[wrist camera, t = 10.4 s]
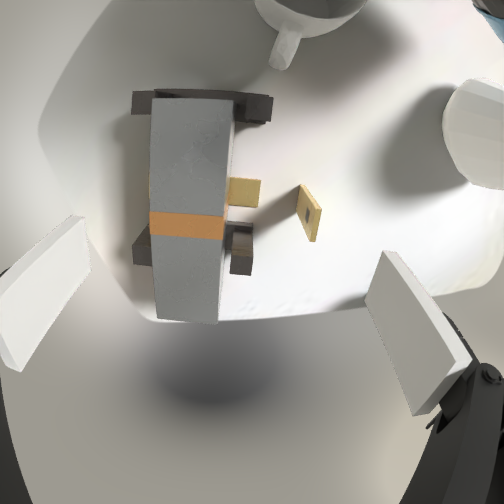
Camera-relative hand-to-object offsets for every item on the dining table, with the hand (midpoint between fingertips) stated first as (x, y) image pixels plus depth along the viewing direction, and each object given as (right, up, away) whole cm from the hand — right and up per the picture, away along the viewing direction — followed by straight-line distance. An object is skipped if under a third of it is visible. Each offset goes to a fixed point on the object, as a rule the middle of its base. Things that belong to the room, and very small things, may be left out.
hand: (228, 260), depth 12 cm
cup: (+28, +16, +15) cm, 36 cm away
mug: (+5, +23, +11) cm, 26 cm away
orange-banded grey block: (-5, +6, +18) cm, 20 cm away
